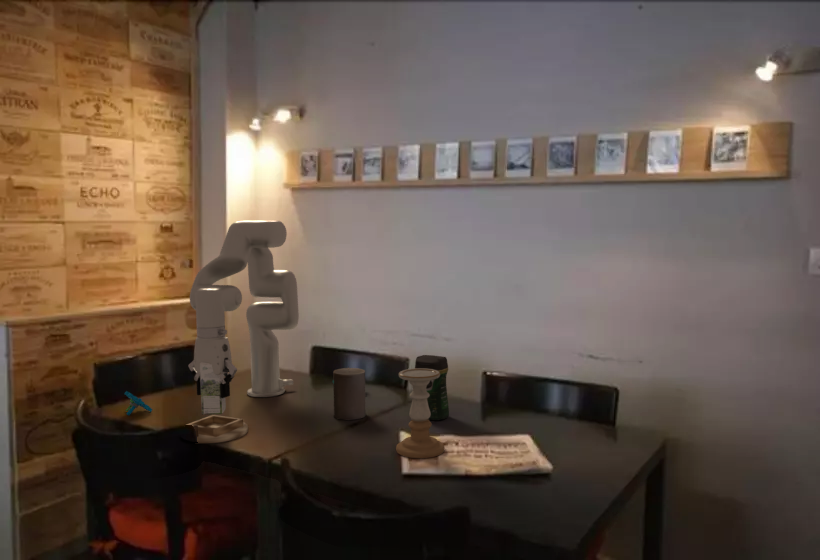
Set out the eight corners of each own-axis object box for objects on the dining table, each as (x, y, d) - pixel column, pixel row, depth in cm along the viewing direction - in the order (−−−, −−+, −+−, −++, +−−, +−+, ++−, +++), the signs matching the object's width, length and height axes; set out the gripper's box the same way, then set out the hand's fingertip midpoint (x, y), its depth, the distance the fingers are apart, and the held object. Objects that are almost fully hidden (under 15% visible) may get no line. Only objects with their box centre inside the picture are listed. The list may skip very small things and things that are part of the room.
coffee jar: (452, 416, 206) (452, 354, 205) (440, 422, 199) (439, 359, 198) (424, 411, 211) (423, 351, 210) (411, 418, 204) (410, 356, 203)
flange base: (212, 421, 205) (212, 407, 204) (261, 428, 196) (260, 413, 196) (166, 438, 188) (165, 423, 188) (217, 446, 180) (216, 431, 180)
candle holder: (397, 443, 181) (396, 367, 180) (444, 442, 181) (443, 367, 179) (394, 459, 169) (393, 378, 168) (445, 458, 169) (444, 377, 167)
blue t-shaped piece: (157, 409, 212) (131, 390, 208) (144, 425, 210) (117, 406, 206) (148, 407, 221) (123, 388, 217) (136, 422, 219) (110, 403, 215)
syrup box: (226, 408, 195) (224, 358, 194) (222, 414, 189) (220, 362, 188) (205, 409, 195) (203, 358, 193) (201, 415, 189) (199, 363, 188)
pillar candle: (328, 418, 205) (326, 368, 204) (343, 410, 214) (342, 362, 213) (357, 421, 202) (356, 371, 201) (371, 413, 211) (370, 364, 210)
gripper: (244, 332, 190) (247, 395, 191) (197, 329, 197) (199, 389, 199) (226, 336, 183) (228, 401, 184) (177, 333, 191) (180, 395, 192)
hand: (213, 395), depth 192 cm, fingers closed on syrup box, 7 cm apart
